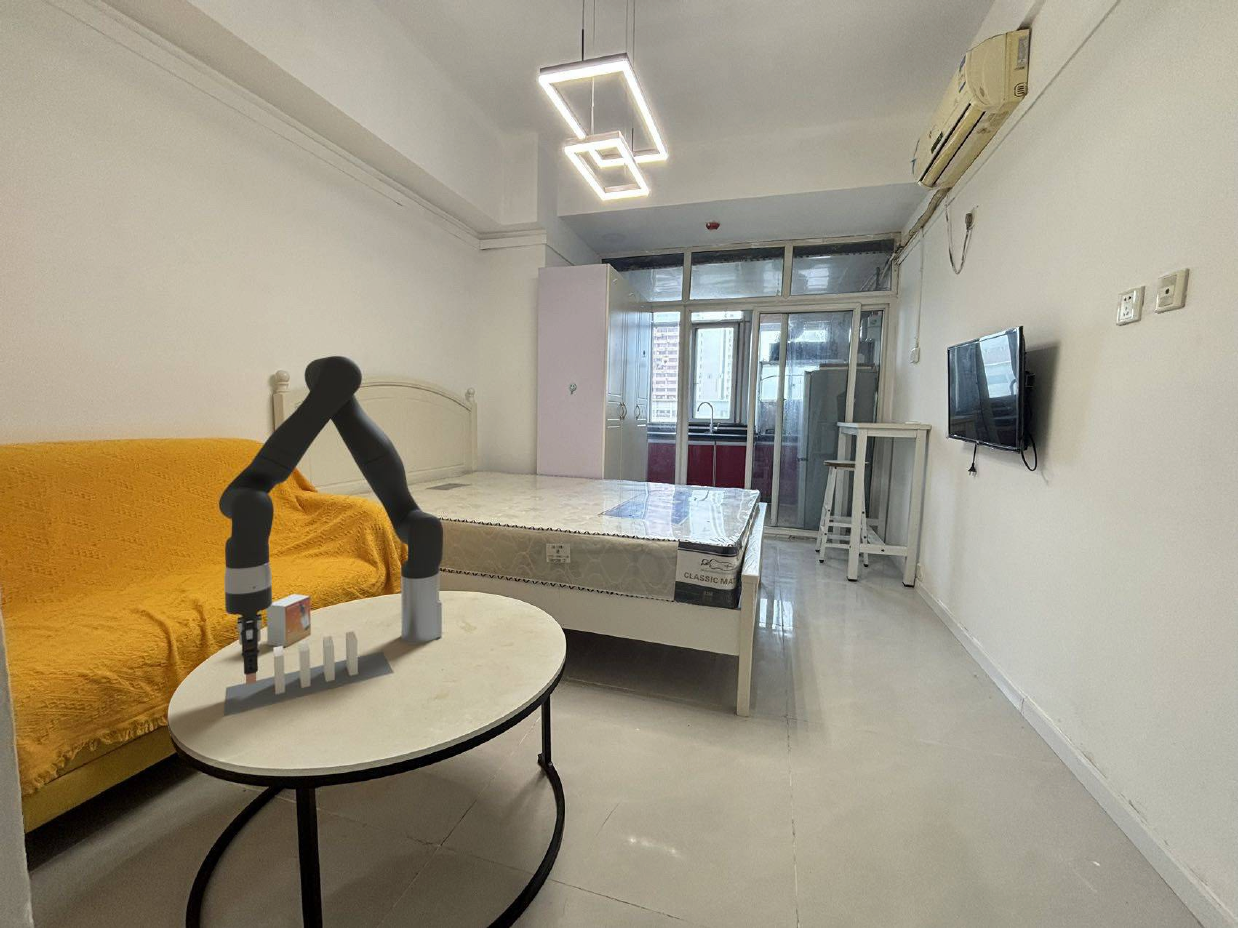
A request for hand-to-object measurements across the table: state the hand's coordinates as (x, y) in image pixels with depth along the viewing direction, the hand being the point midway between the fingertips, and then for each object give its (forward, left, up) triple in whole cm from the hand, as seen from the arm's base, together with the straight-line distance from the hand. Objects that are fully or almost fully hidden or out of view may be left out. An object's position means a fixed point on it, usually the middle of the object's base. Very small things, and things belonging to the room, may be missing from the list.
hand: (251, 666), depth 101 cm
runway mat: (-11, 0, -6) cm, 12 cm away
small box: (-8, -26, -7) cm, 28 cm away
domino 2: (-5, 0, -6) cm, 8 cm away
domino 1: (0, 0, -2) cm, 2 cm away
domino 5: (-18, 0, -6) cm, 19 cm away
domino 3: (-9, 0, -6) cm, 11 cm away
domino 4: (-14, 0, -6) cm, 15 cm away
